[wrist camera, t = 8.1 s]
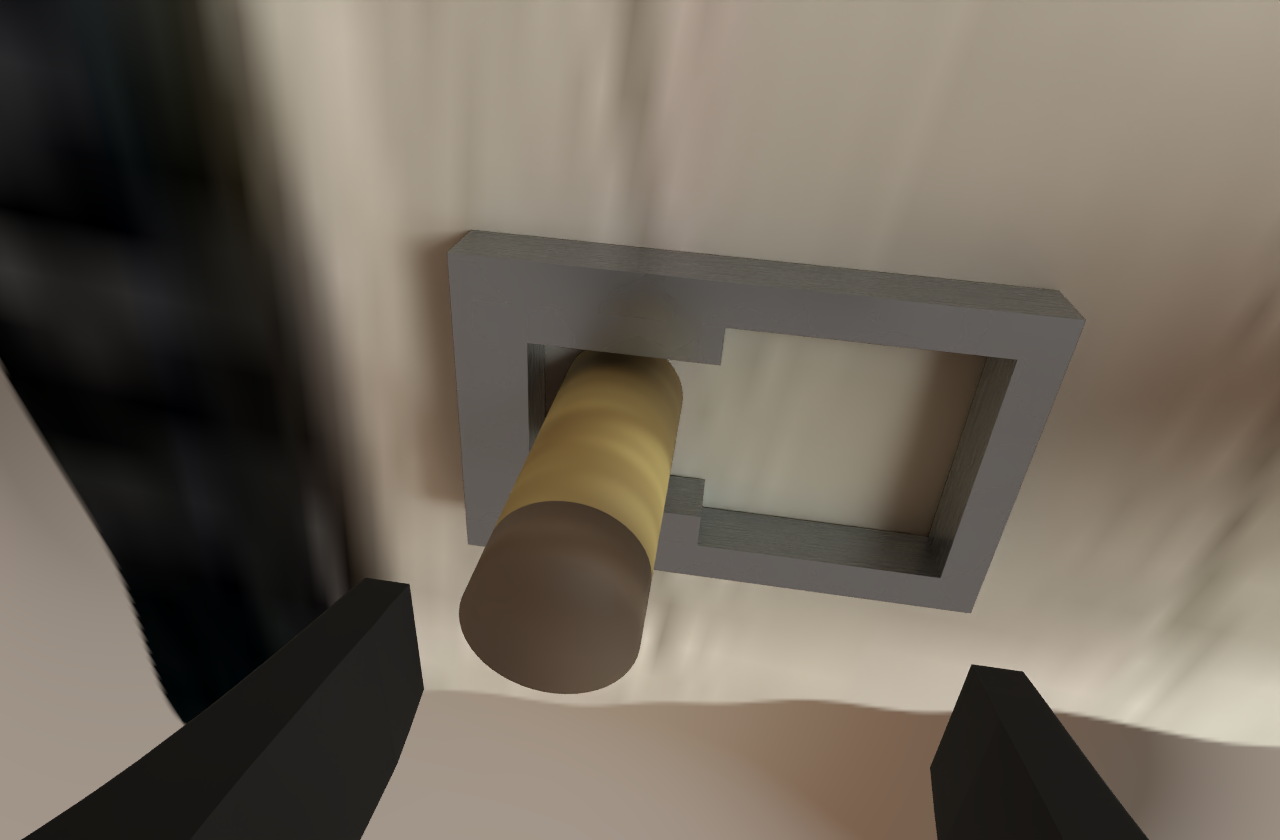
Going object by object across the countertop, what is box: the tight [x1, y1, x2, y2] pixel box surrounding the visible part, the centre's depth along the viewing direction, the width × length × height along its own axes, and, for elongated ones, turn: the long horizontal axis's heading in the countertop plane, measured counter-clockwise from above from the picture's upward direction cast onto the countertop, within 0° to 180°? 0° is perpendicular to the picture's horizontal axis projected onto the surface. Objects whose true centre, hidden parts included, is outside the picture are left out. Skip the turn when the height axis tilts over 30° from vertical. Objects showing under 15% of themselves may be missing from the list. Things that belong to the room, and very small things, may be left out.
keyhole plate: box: [447, 230, 1086, 613], centre depth 18 cm, size 13×8×2 cm, turn 86°
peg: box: [459, 350, 683, 694], centre depth 16 cm, size 3×3×8 cm
